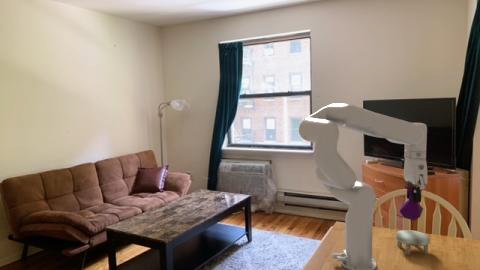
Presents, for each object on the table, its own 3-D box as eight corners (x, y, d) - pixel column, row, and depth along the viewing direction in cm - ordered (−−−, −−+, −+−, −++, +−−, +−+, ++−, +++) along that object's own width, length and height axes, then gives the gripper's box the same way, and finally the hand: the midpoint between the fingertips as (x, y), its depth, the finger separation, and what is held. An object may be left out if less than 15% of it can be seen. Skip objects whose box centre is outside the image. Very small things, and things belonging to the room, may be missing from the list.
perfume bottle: (398, 218, 137) (403, 177, 132) (402, 210, 143) (407, 170, 138) (419, 224, 133) (425, 181, 128) (422, 215, 139) (428, 174, 133)
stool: (404, 257, 132) (404, 243, 132) (390, 244, 144) (391, 230, 143) (435, 256, 132) (436, 242, 131) (419, 243, 144) (419, 229, 143)
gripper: (436, 158, 125) (434, 207, 127) (414, 150, 142) (412, 193, 144) (416, 159, 125) (414, 207, 127) (395, 151, 142) (394, 194, 144)
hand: (413, 199), depth 136 cm, fingers closed on perfume bottle, 3 cm apart
